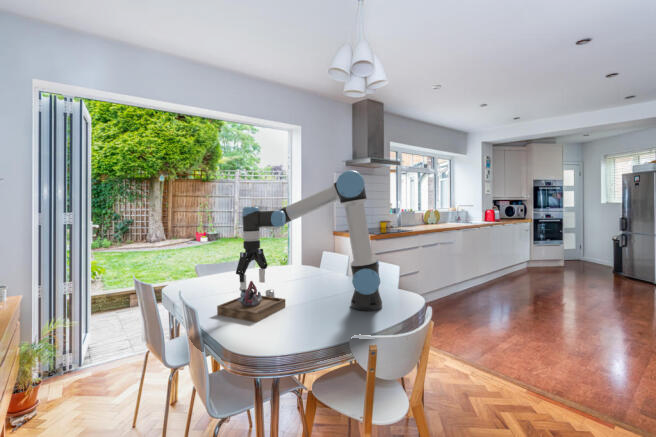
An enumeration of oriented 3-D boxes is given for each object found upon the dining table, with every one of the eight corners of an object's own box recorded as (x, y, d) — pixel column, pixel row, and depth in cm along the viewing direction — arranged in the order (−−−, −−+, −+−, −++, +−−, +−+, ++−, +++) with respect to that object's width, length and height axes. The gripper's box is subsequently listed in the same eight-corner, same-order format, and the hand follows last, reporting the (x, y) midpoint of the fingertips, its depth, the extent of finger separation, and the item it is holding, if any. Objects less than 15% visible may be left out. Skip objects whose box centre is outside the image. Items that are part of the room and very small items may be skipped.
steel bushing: (275, 298, 169) (274, 289, 169) (274, 301, 165) (273, 291, 164) (267, 299, 169) (266, 289, 169) (265, 302, 165) (264, 292, 164)
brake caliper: (259, 303, 144) (244, 281, 145) (241, 316, 146) (226, 295, 147) (269, 296, 155) (255, 276, 156) (253, 309, 157) (239, 288, 158)
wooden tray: (285, 307, 156) (285, 299, 156) (256, 322, 136) (256, 312, 136) (249, 301, 165) (248, 293, 165) (217, 314, 145) (217, 305, 145)
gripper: (261, 237, 162) (262, 279, 163) (226, 243, 140) (228, 291, 140) (274, 237, 159) (275, 280, 160) (239, 243, 136) (241, 293, 137)
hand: (253, 285), depth 150 cm, fingers open, 13 cm apart
